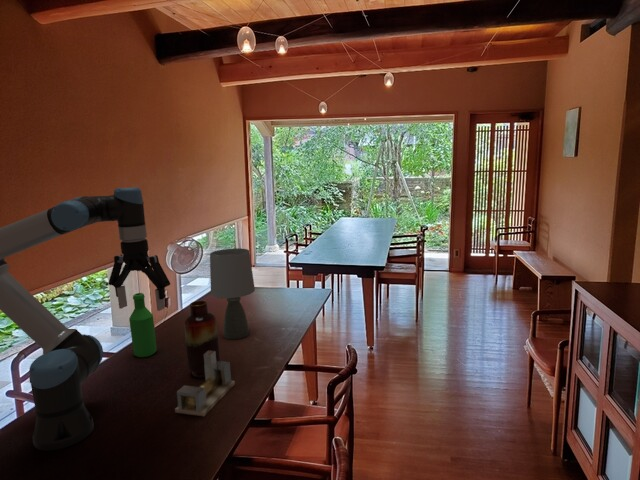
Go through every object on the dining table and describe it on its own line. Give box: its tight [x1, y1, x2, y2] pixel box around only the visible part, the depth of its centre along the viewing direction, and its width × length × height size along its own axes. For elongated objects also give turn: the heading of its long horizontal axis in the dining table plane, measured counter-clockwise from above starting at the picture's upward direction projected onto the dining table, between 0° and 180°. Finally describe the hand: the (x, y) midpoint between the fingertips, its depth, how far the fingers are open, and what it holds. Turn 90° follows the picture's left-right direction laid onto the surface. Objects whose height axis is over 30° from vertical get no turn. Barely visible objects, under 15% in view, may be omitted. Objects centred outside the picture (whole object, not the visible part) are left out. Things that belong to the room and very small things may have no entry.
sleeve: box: [176, 385, 207, 412], centre depth 138 cm, size 4×7×6 cm, turn 74°
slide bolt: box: [184, 351, 222, 409], centre depth 145 cm, size 18×4×12 cm, turn 164°
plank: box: [174, 380, 236, 417], centre depth 146 cm, size 20×10×1 cm, turn 164°
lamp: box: [209, 247, 256, 340], centre depth 196 cm, size 19×19×37 cm
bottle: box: [128, 292, 158, 358], centre depth 181 cm, size 9×9×25 cm
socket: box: [204, 360, 232, 386], centre depth 153 cm, size 4×7×7 cm, turn 74°
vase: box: [183, 300, 221, 379], centre depth 162 cm, size 11×11×26 cm
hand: (141, 308), depth 139 cm, fingers open, 13 cm apart
